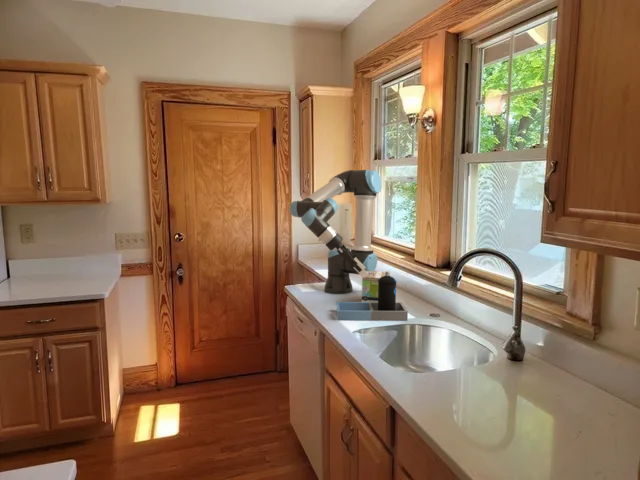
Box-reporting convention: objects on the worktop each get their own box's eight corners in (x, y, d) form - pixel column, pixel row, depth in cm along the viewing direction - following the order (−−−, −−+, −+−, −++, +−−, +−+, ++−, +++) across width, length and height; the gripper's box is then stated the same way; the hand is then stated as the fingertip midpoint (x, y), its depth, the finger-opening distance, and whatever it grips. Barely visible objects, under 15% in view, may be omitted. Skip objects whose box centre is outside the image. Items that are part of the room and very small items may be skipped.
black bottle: (381, 319, 188) (382, 273, 185) (374, 313, 196) (375, 270, 193) (399, 317, 190) (400, 272, 187) (390, 312, 198) (392, 269, 195)
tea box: (382, 308, 204) (383, 277, 202) (361, 307, 206) (361, 276, 204) (384, 299, 218) (384, 271, 216) (364, 298, 220) (364, 270, 218)
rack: (336, 310, 200) (336, 302, 200) (401, 310, 200) (402, 302, 199) (337, 320, 186) (337, 311, 186) (407, 320, 186) (407, 311, 185)
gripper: (324, 240, 201) (356, 272, 203) (324, 248, 176) (360, 285, 178) (336, 229, 200) (368, 261, 202) (337, 236, 176) (374, 272, 177)
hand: (364, 272), depth 190 cm, fingers open, 13 cm apart
